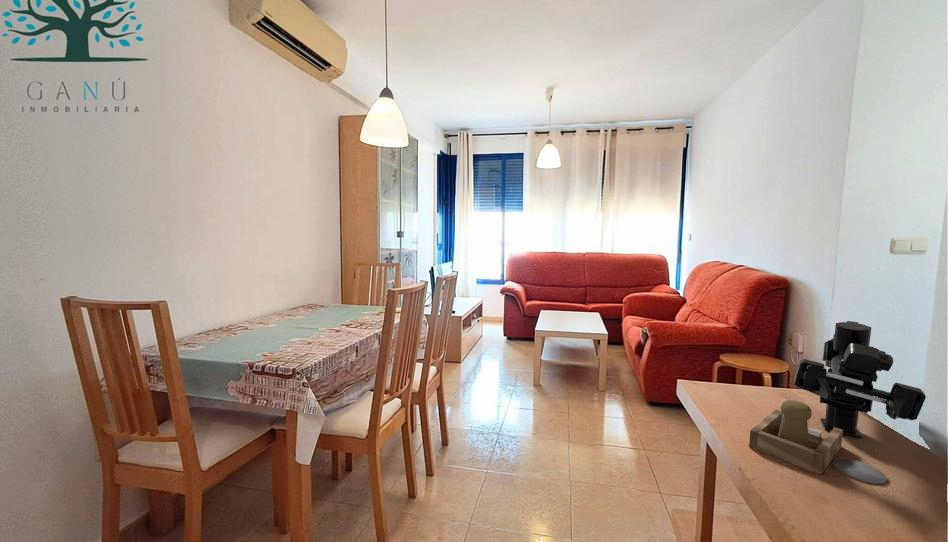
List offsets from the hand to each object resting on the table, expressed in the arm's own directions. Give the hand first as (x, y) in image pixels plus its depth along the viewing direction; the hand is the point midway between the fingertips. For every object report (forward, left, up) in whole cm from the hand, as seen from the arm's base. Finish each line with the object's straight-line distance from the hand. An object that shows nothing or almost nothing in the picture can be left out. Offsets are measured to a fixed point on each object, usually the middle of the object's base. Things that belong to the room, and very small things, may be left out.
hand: (860, 406), depth 74 cm
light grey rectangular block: (-14, -6, -15) cm, 21 cm away
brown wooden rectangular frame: (-9, -8, -15) cm, 19 cm away
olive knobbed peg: (-7, -8, -15) cm, 19 cm away
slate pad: (-4, +2, -15) cm, 16 cm away
